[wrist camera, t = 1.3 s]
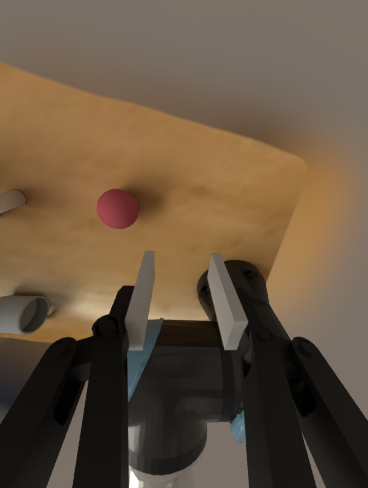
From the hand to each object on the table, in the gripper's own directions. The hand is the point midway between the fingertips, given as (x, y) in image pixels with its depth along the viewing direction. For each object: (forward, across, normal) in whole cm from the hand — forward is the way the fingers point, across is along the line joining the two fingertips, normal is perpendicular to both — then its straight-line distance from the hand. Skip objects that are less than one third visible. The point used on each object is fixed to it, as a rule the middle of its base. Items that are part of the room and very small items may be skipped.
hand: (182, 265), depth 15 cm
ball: (+14, +9, 0) cm, 17 cm away
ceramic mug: (+17, +33, +26) cm, 45 cm away
